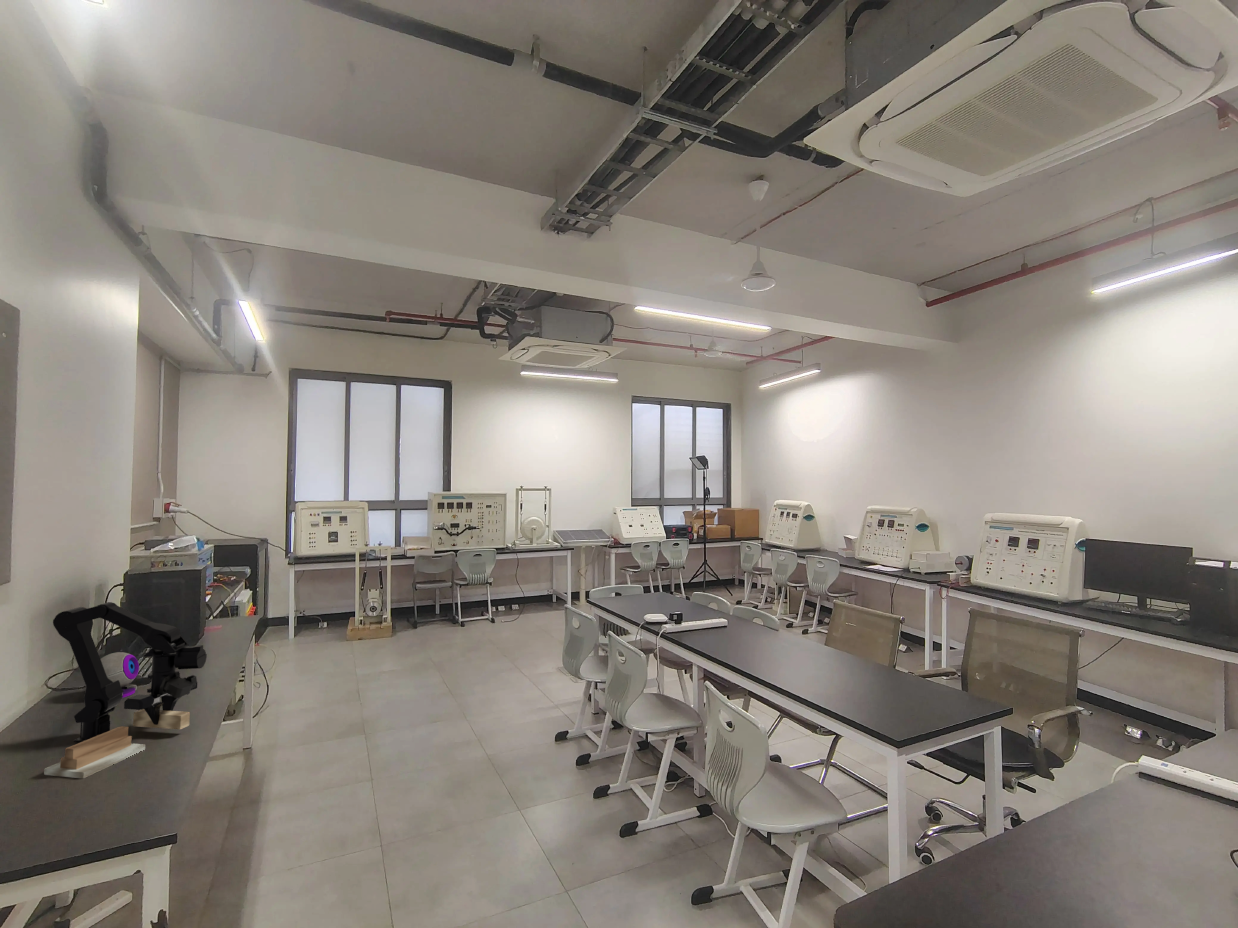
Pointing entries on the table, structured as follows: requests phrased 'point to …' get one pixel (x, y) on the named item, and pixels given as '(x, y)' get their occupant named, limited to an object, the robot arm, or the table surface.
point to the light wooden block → (162, 719)
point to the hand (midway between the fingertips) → (161, 721)
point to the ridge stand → (95, 754)
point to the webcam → (121, 670)
